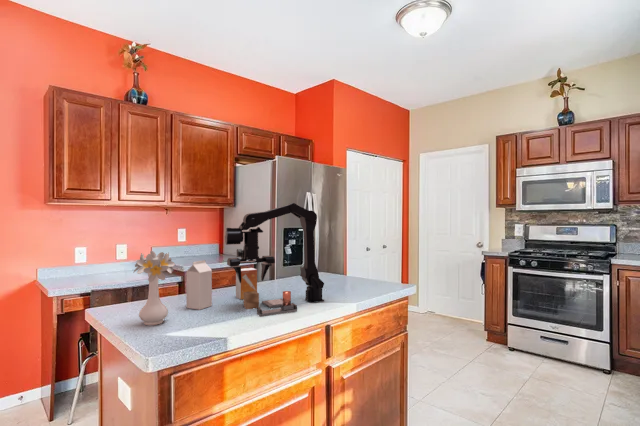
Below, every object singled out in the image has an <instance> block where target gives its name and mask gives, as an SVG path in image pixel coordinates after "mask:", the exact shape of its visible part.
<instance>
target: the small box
mask: <svg viewBox="0 0 640 426" xmlns="http://www.w3.org/2000/svg"><path fill="white" fill-rule="evenodd" d="M251 291H256V292H258V269H257V268H254V267H248V268H247V267H244V268H241V283H240V282H239V279H238V276H237V274H236V273H235V298H237V299H239V300H244V292H251Z"/></svg>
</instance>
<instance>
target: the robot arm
mask: <svg viewBox="0 0 640 426" xmlns="http://www.w3.org/2000/svg"><path fill="white" fill-rule="evenodd" d="M288 214H292V215H294V217H296V218H298V219H299V221H300V225H301V228H302V231H303V252H304V253H303V255H304V256H303V257H304V263H303V267H302V266H300V277H301V280H302V281H303V282H304V283H305V285H306V289H305V299H304V300H305V301H307V302H309V303H318V302H325V299H323V288H324V286H325V282H324V281H323V280H322V279H321V278H320V276H319V271H318V268H317V265H316V259H315V257H316V256H315V254H316V253H315V252H316V250H315V230H316V227H317V220H318V215H317V213H316V212H315V211H313V210H308V209H307V208H304V207H302V206H300V205H298V204H297V203H295V202H291V203H288V204H285V205H283V206H282V205H281V206H277V207H275V208H271V209H267V210H265V211H259V212H250V213H249V212H248V213H246V214H244V216H243V218H242V222H241V224H240V225H239V226H238V227H226V228H225V235H224V241H225V242H224V243H225V245H227V246H230V245H241V243H242V242H243V249H242V248H236V257H228V258H227V260H226V265H227V266H228V267H230V268H232V269H234V271H235V275H236V274H237V276H238V279H239V282H240V283H241V269H242V267H241V266H240V265H242V264H256V263H261V275H260V278H261V281H262V282H263V281H264V280H265V278H266V275H267V273H268V270H270V269H269V268H270V267H272V266H273V264H275V263H276V258H275V257H274V256H273V255H262V257H260V256H259V249H260V246H259V233H260V234H261V233H264V230H263V229H261V227H260V226H261V225H262V224H263V223H265V222H267V221H269V220H272V219H275V218H278V217H281V216H284V215H288ZM247 230H248V231H247Z"/></svg>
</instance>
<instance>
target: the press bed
mask: <svg viewBox="0 0 640 426" xmlns="http://www.w3.org/2000/svg"><path fill="white" fill-rule="evenodd" d="M262 303H263V304H262V305H264V306H265V307H267V308H268V309H269V308H270V309H269V310H272V309H271V308H273V309H280V304H283V298H277V299H267V300H262Z"/></svg>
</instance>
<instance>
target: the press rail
mask: <svg viewBox="0 0 640 426" xmlns="http://www.w3.org/2000/svg"><path fill="white" fill-rule="evenodd" d="M291 304H293V309H289V310H283V309H281V308H273V309H266V310H263V309H262V308H261V307H260V306H259V307H258V308H256V315H257V316H258V315H259V317H260V318H261V317H268V316H277V315H282V314H283V315H285V314H290V313H292V314H293V313H297V312H298V304H295V303H294V302H291Z"/></svg>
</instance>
